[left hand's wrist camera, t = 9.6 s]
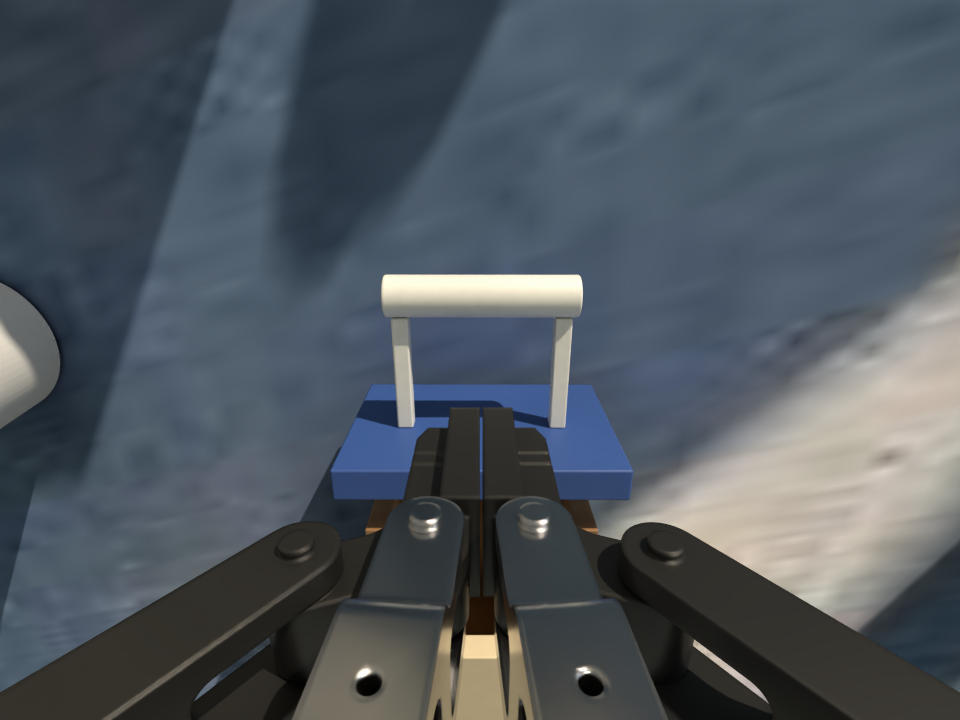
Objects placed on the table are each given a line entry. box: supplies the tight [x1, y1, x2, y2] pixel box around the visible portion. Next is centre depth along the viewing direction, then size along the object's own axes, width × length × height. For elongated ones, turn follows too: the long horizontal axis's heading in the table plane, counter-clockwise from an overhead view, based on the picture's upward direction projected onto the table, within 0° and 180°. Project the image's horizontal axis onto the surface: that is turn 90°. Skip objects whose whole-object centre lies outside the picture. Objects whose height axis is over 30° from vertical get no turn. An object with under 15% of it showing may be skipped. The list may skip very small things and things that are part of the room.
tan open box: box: [456, 635, 504, 720], centre depth 26 cm, size 19×11×9 cm, turn 0°
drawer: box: [330, 275, 633, 635], centre depth 22 cm, size 23×10×7 cm, turn 0°
